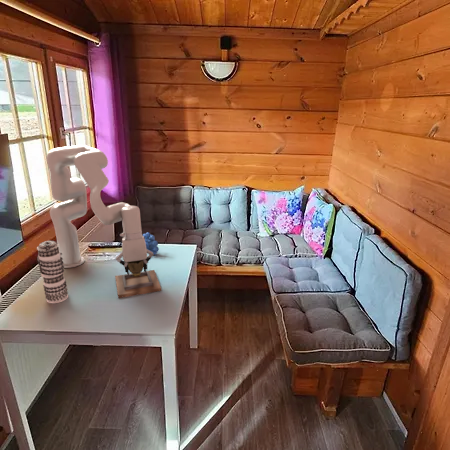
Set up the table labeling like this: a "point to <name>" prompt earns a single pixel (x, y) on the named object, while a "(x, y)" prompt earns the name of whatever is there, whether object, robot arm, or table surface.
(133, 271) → the cup
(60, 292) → the decorative candle
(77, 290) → the table surface
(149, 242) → the grapes
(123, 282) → the mounting board
